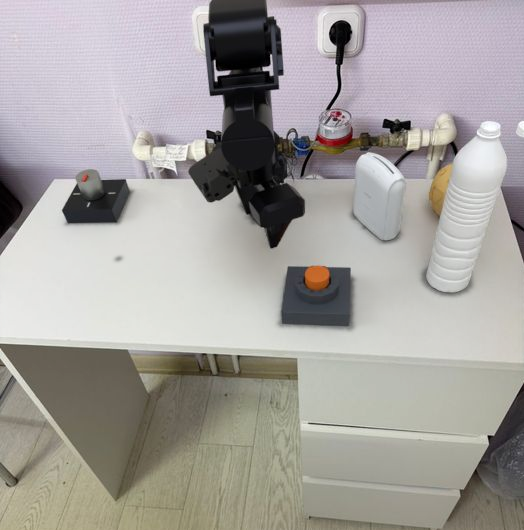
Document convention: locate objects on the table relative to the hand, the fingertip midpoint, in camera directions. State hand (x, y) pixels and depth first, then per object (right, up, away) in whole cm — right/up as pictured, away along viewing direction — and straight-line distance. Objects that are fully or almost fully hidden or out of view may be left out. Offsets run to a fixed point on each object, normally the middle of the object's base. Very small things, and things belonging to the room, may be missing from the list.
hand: (261, 229), depth 73 cm
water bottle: (+31, -7, +5) cm, 32 cm away
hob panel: (-32, +11, +25) cm, 42 cm away
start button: (+8, -8, +1) cm, 11 cm away
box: (+9, -10, +4) cm, 14 cm away
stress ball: (+34, +6, +15) cm, 38 cm away
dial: (-33, +13, +23) cm, 42 cm away
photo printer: (+20, +4, +15) cm, 26 cm away
